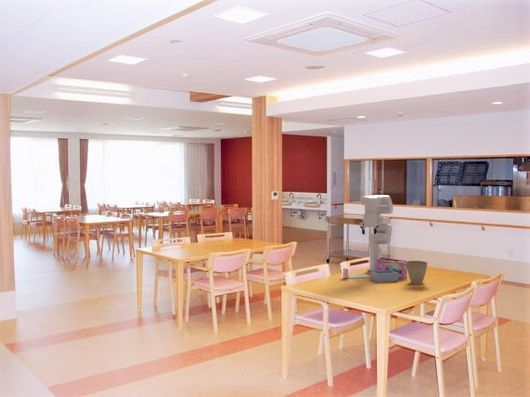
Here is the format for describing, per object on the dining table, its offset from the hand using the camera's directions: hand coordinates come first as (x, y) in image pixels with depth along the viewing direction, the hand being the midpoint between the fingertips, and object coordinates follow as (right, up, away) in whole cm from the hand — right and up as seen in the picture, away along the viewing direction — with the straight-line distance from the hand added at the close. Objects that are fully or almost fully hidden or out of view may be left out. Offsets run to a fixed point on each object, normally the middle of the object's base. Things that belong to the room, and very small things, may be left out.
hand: (369, 234), depth 398 cm
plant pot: (+30, -35, -25) cm, 52 cm away
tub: (+8, -34, -17) cm, 39 cm away
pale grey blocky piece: (-11, -34, -5) cm, 36 cm away
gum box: (+17, -34, -1) cm, 38 cm away
